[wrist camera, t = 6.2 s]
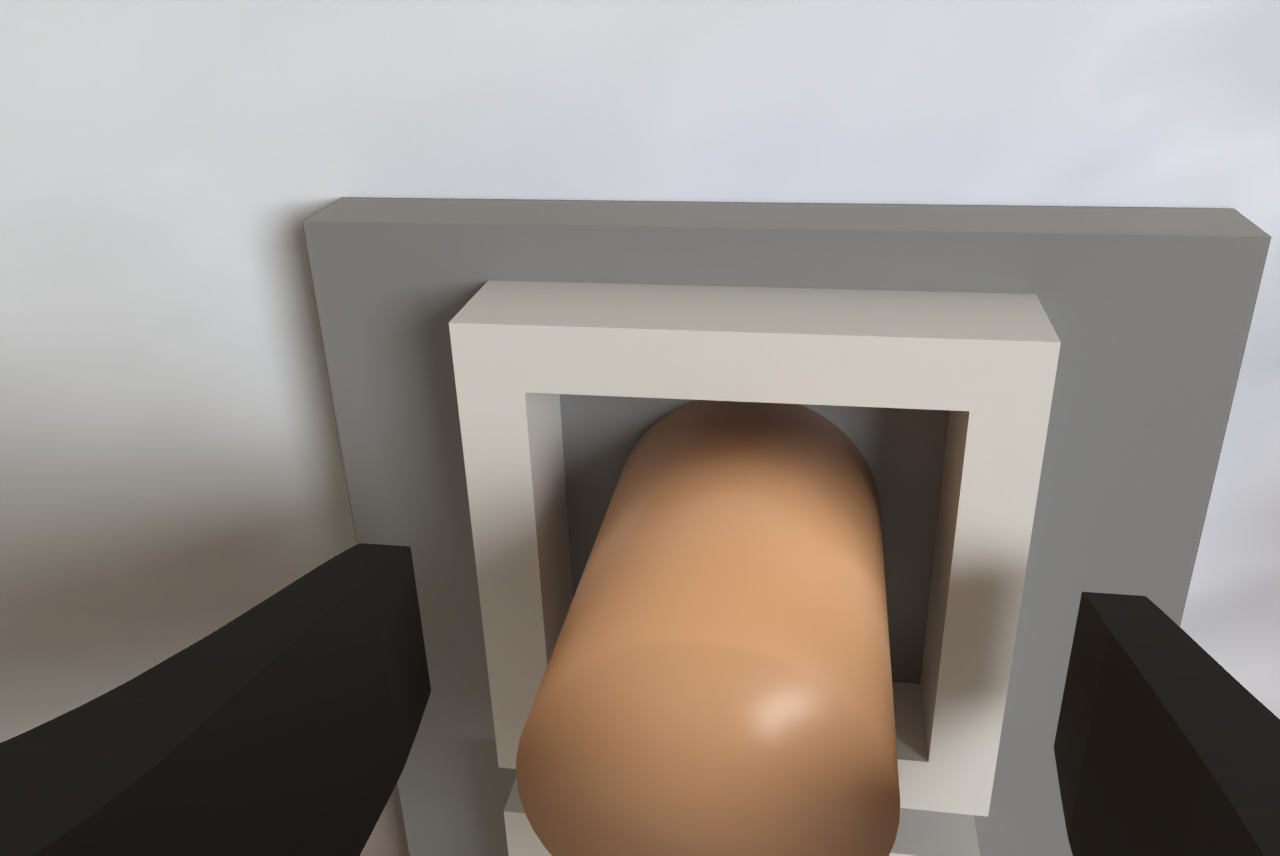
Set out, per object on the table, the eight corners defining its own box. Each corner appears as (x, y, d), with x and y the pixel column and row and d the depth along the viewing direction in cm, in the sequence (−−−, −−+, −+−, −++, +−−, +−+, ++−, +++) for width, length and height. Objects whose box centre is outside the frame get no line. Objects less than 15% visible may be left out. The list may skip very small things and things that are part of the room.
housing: (1052, 1045, 19) (1084, 1210, 17) (457, 967, 21) (408, 1105, 18) (1234, 208, 12) (1328, 279, 10) (343, 197, 14) (241, 256, 12)
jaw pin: (868, 631, 14) (881, 956, 10) (619, 608, 15) (526, 906, 10) (892, 401, 13) (921, 663, 8) (615, 384, 13) (504, 623, 9)
